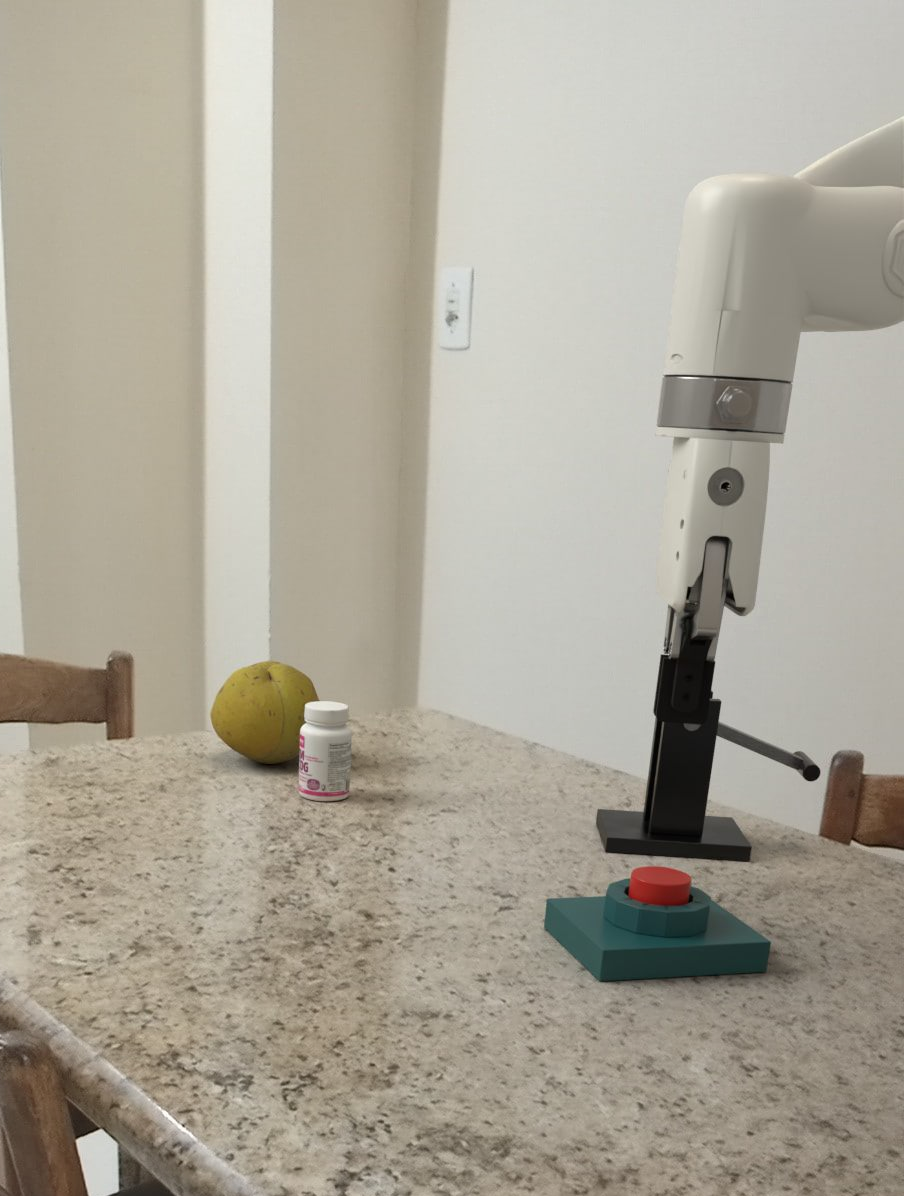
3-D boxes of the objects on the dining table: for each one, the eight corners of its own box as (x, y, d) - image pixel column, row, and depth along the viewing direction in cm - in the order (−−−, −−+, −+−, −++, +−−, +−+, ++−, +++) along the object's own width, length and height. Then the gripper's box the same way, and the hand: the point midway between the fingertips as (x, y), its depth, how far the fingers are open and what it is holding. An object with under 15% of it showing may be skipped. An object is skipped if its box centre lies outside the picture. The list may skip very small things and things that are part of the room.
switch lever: (798, 774, 119) (812, 749, 118) (812, 789, 114) (826, 763, 113) (661, 715, 118) (674, 689, 117) (669, 728, 113) (682, 701, 112)
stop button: (672, 889, 95) (675, 864, 95) (698, 908, 92) (702, 883, 91) (618, 891, 94) (621, 866, 94) (643, 910, 91) (646, 885, 90)
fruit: (344, 761, 140) (348, 662, 137) (275, 782, 131) (277, 677, 128) (258, 743, 146) (260, 648, 142) (186, 762, 137) (186, 661, 133)
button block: (697, 920, 100) (704, 868, 99) (766, 972, 91) (776, 915, 90) (543, 927, 97) (548, 873, 96) (599, 981, 88) (606, 923, 87)
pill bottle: (287, 793, 128) (289, 702, 125) (326, 786, 131) (329, 698, 128) (320, 805, 125) (323, 712, 121) (359, 797, 128) (363, 707, 124)
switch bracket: (730, 831, 123) (752, 688, 118) (749, 861, 115) (773, 708, 110) (595, 822, 124) (612, 679, 119) (605, 852, 115) (623, 699, 110)
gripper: (815, 417, 75) (761, 750, 81) (760, 418, 88) (717, 702, 95) (676, 409, 75) (633, 741, 82) (643, 411, 89) (609, 695, 95)
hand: (679, 720), depth 88 cm, fingers closed
